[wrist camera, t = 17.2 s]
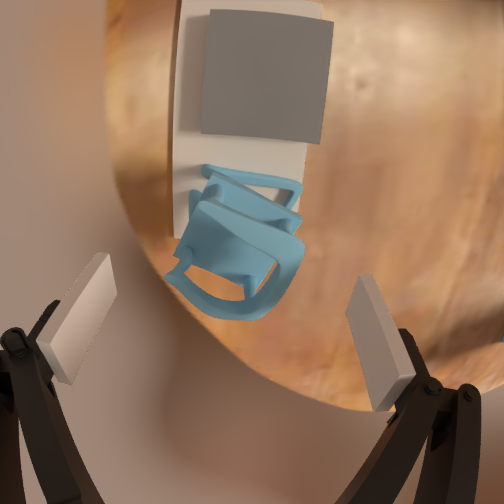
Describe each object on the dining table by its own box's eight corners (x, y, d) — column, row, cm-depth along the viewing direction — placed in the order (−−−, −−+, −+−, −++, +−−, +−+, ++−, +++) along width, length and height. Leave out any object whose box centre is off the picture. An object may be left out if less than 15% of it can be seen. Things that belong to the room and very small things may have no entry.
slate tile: (328, 26, 19) (213, 14, 18) (333, 22, 17) (210, 9, 17) (315, 140, 24) (204, 130, 23) (319, 144, 22) (200, 133, 22)
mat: (183, -5, 18) (182, -6, 17) (321, 4, 18) (322, 3, 18) (174, 236, 29) (174, 238, 28) (291, 244, 29) (292, 246, 29)
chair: (215, 138, 24) (183, 182, 13) (304, 184, 26) (337, 258, 15) (178, 215, 27) (136, 300, 17) (260, 253, 29) (262, 351, 19)
